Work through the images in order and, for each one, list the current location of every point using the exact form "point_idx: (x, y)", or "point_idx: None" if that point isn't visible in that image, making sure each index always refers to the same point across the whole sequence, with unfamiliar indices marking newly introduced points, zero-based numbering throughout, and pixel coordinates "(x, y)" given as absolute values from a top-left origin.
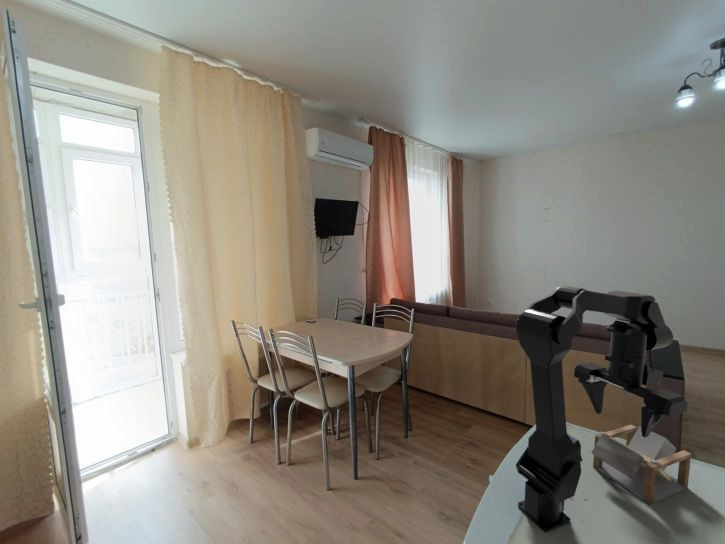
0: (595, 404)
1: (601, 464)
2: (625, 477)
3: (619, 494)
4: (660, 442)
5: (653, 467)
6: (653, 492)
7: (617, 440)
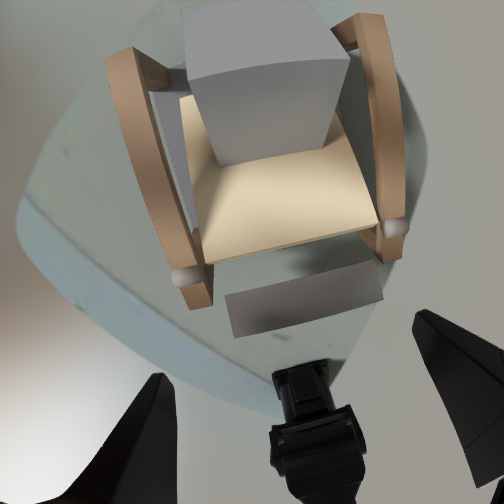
0: (175, 451)
1: None
2: None
3: (301, 244)
4: (329, 84)
5: (401, 253)
6: None
7: (240, 255)
